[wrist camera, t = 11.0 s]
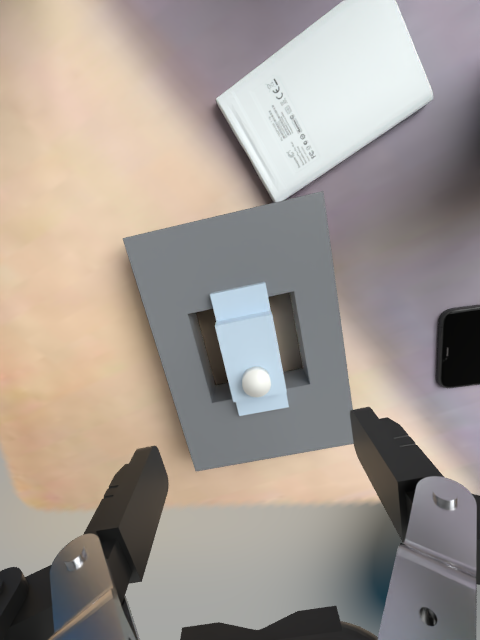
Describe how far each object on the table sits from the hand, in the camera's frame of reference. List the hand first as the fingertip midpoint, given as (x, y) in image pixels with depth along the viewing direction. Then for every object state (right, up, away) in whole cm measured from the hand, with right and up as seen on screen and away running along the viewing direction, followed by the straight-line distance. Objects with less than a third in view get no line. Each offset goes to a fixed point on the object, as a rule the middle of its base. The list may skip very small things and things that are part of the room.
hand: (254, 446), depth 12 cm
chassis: (0, +4, +13) cm, 14 cm away
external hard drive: (+5, +21, +9) cm, 23 cm away
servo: (0, +4, +13) cm, 14 cm away
